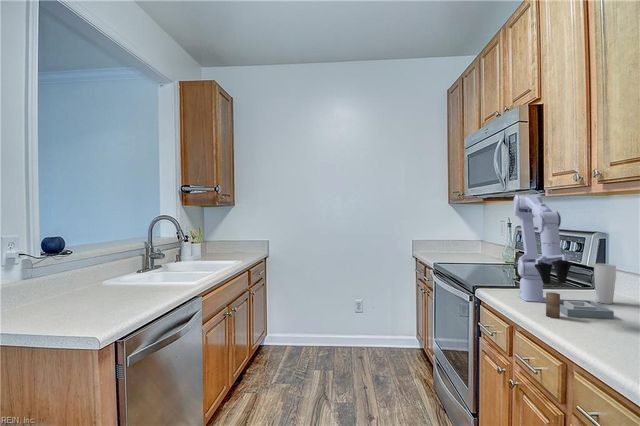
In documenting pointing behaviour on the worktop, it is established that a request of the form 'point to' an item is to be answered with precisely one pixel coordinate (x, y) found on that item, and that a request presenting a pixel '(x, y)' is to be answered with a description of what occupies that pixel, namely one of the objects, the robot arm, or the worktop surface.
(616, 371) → the worktop surface
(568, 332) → the worktop surface
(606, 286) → the drinking glass
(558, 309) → the walnut peg
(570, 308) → the candle dish
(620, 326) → the worktop surface
